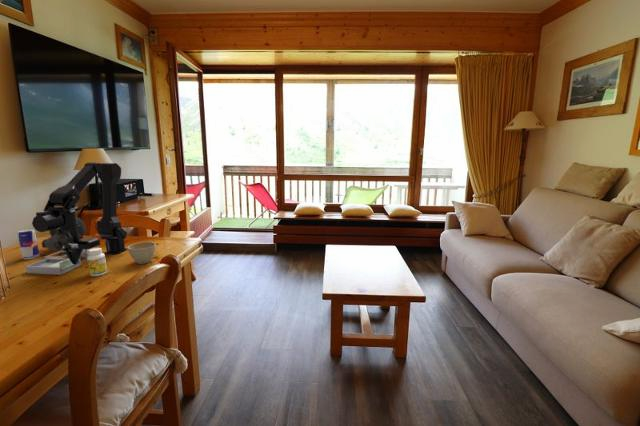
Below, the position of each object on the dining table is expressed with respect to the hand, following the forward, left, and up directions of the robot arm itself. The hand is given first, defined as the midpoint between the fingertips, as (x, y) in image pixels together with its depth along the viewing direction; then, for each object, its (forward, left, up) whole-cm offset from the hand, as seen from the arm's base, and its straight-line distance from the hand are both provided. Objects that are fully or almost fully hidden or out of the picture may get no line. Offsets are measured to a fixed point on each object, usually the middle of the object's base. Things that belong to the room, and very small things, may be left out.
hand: (75, 263), depth 118 cm
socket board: (+15, -9, -2) cm, 18 cm away
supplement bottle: (-11, +2, -3) cm, 12 cm away
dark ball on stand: (+26, -25, -3) cm, 36 cm away
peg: (+8, -12, -2) cm, 15 cm away
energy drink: (+30, -10, -3) cm, 32 cm away
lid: (+6, 0, -1) cm, 6 cm away
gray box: (+9, 0, -2) cm, 9 cm away
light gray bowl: (-20, -11, -3) cm, 23 cm away
